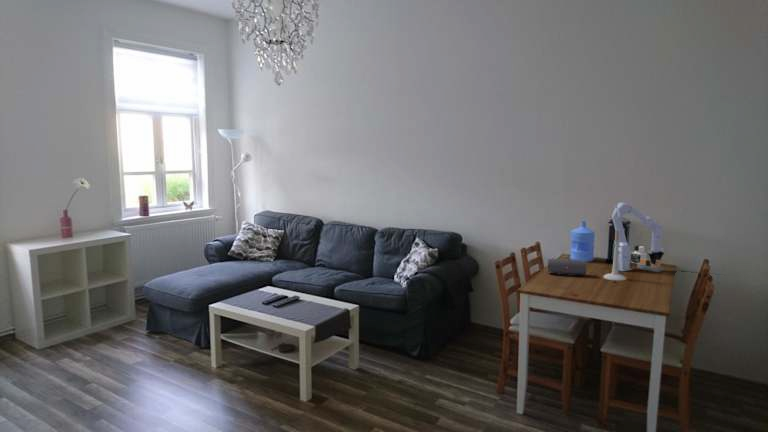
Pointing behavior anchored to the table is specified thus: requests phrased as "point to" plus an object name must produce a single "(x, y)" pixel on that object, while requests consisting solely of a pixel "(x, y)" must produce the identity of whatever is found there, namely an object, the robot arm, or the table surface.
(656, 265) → the tan matte cube
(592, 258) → the water jug
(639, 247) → the medicine bottle
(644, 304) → the table surface
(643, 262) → the grey rimmed tray
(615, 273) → the candlestick
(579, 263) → the bluetooth speaker
